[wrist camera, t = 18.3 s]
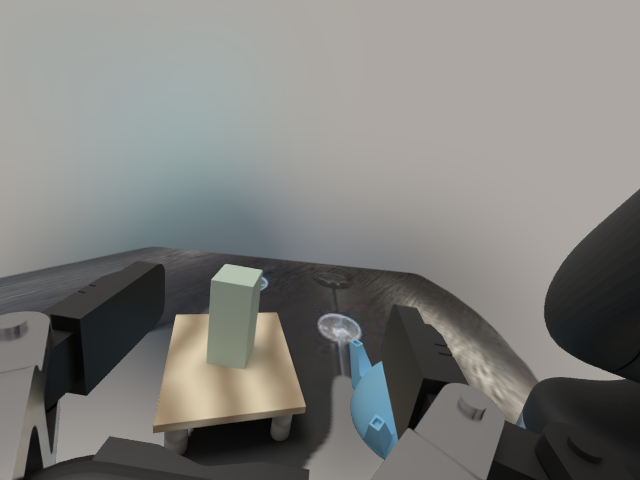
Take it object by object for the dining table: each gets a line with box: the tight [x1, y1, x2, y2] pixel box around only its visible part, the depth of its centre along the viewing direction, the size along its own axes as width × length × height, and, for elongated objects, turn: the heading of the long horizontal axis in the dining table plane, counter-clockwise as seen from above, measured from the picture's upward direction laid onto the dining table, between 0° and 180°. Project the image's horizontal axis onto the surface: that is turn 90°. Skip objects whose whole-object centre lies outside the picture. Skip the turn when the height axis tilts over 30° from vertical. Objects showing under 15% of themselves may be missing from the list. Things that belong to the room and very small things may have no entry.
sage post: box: [206, 264, 263, 370], centre depth 41 cm, size 5×5×12 cm
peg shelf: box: [153, 313, 306, 455], centre depth 44 cm, size 16×20×6 cm
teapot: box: [350, 339, 398, 460], centre depth 42 cm, size 15×15×11 cm
